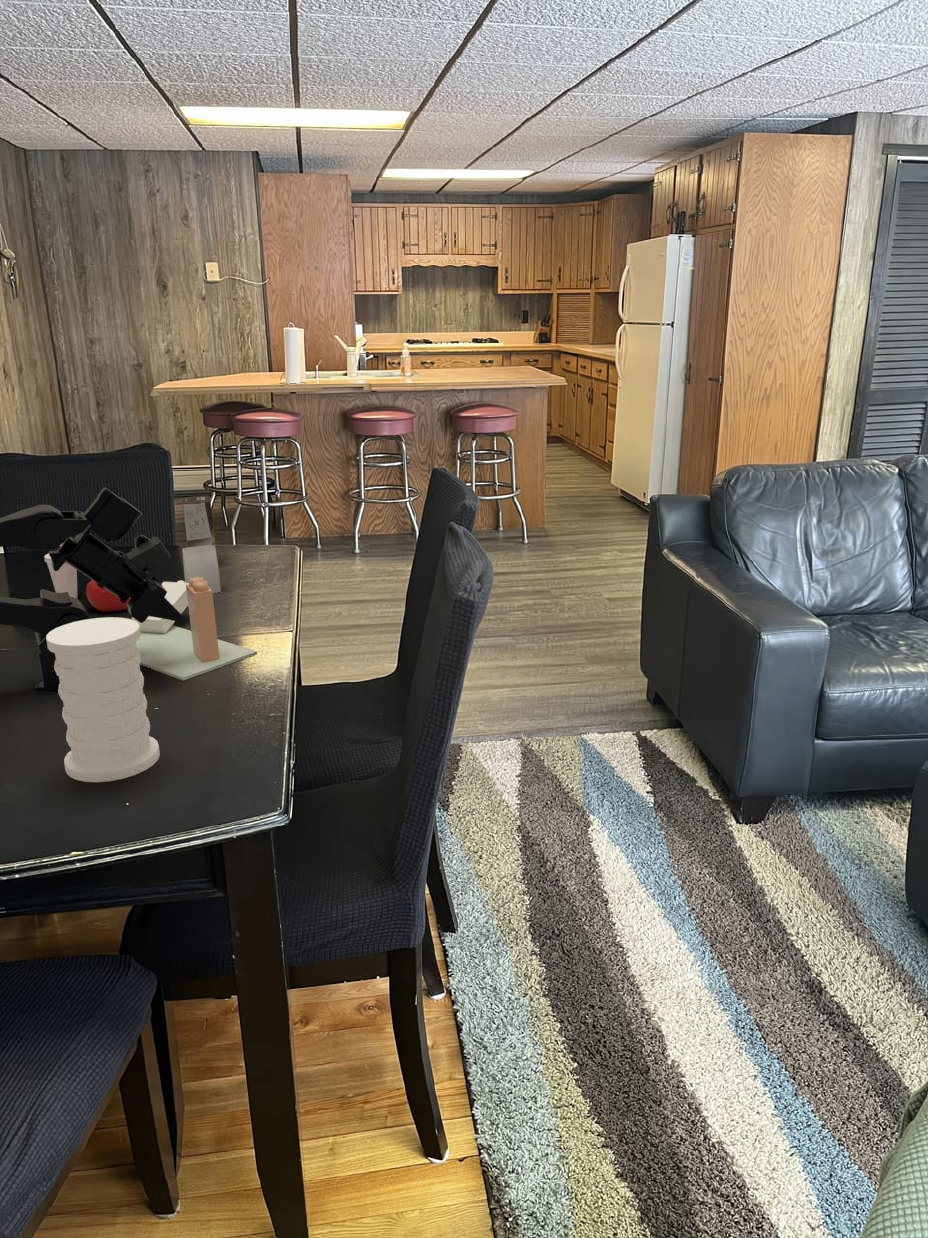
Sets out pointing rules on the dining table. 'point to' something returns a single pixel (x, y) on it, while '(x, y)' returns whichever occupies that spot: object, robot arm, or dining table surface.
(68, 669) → the decorative container
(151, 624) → the tile one
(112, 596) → the red tomato
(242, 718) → the dining table surface
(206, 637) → the orange rectangular block
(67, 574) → the smoothie
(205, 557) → the pale grey upright block
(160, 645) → the mat
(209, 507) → the coffee box
